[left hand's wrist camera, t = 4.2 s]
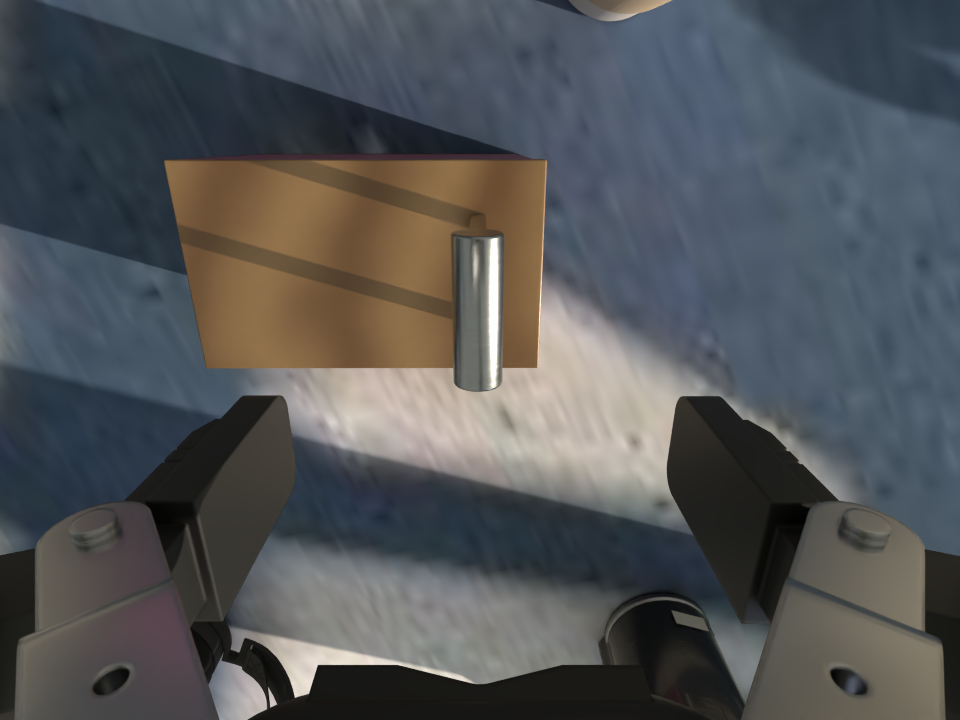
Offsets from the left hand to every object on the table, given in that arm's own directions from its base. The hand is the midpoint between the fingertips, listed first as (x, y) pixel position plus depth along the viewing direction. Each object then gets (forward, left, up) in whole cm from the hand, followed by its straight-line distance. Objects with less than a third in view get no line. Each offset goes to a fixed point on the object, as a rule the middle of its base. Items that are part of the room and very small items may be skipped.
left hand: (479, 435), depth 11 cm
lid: (-3, +4, -16) cm, 17 cm away
